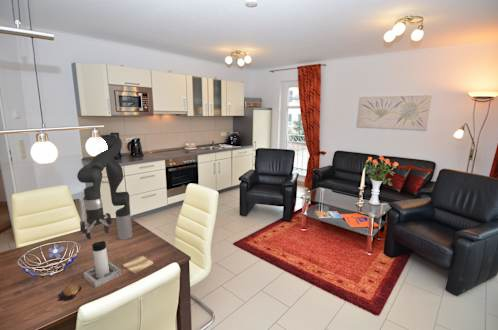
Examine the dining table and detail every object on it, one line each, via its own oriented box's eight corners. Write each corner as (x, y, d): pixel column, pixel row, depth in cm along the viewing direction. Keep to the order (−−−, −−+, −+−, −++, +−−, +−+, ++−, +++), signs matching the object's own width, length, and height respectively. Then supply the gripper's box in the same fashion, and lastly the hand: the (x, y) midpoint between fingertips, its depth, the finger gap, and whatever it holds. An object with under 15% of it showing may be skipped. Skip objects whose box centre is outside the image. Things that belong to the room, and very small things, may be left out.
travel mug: (96, 281, 134) (91, 246, 130) (96, 274, 140) (92, 241, 136) (109, 277, 137) (105, 244, 133) (109, 270, 143) (105, 238, 139)
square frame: (84, 277, 137) (83, 270, 136) (109, 265, 148) (108, 259, 147) (95, 287, 130) (94, 280, 129) (121, 274, 140) (120, 267, 139)
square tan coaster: (122, 266, 147) (122, 264, 147) (141, 256, 157) (141, 255, 157) (134, 274, 141) (133, 272, 140) (153, 263, 150) (153, 262, 150)
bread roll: (67, 287, 130) (66, 281, 130) (84, 286, 132) (83, 279, 131) (54, 302, 120) (53, 296, 119) (73, 301, 121) (72, 294, 120)
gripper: (105, 201, 138) (108, 228, 141) (75, 209, 127) (79, 238, 130) (111, 204, 134) (115, 232, 137) (81, 212, 122) (86, 243, 126)
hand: (97, 235), depth 134 cm, fingers open, 8 cm apart
